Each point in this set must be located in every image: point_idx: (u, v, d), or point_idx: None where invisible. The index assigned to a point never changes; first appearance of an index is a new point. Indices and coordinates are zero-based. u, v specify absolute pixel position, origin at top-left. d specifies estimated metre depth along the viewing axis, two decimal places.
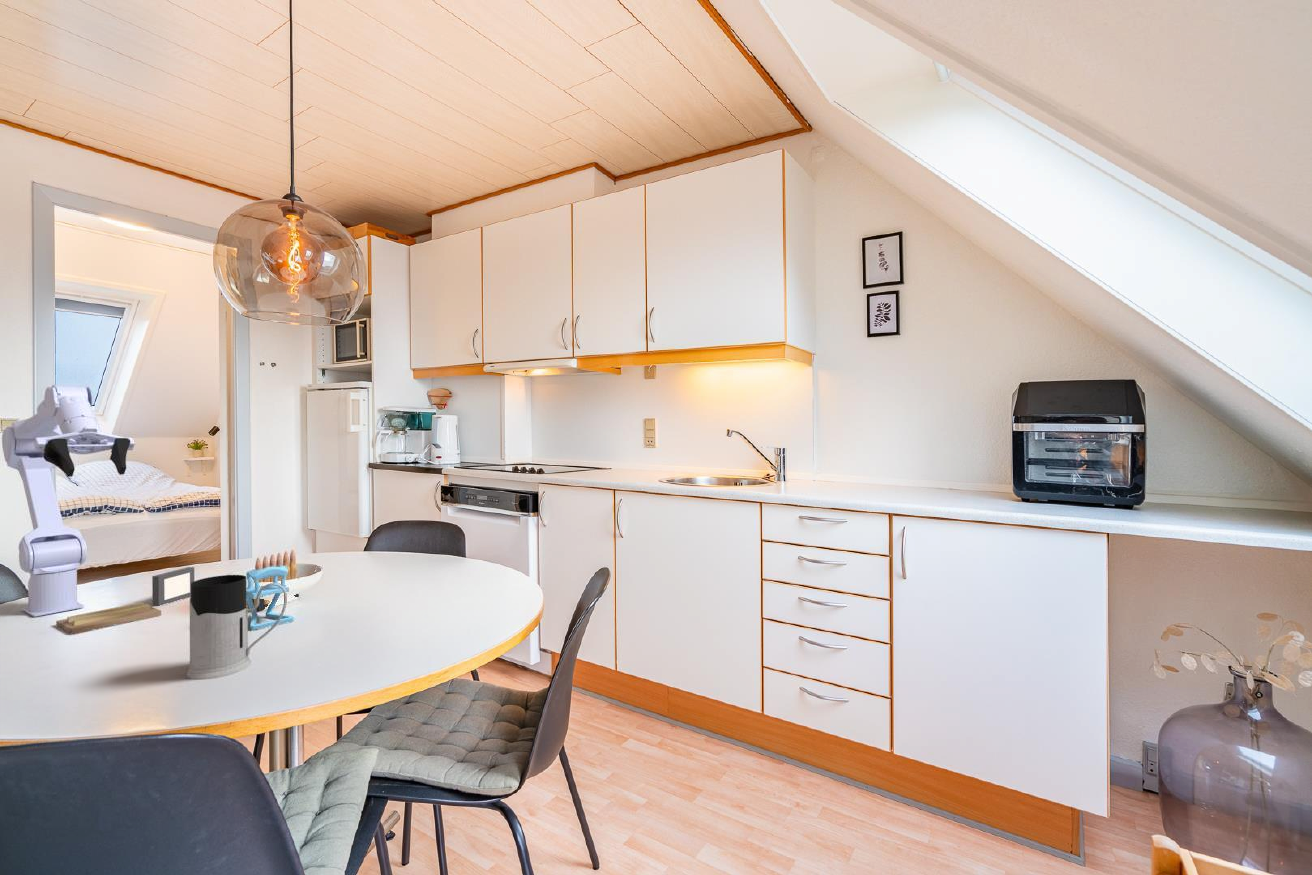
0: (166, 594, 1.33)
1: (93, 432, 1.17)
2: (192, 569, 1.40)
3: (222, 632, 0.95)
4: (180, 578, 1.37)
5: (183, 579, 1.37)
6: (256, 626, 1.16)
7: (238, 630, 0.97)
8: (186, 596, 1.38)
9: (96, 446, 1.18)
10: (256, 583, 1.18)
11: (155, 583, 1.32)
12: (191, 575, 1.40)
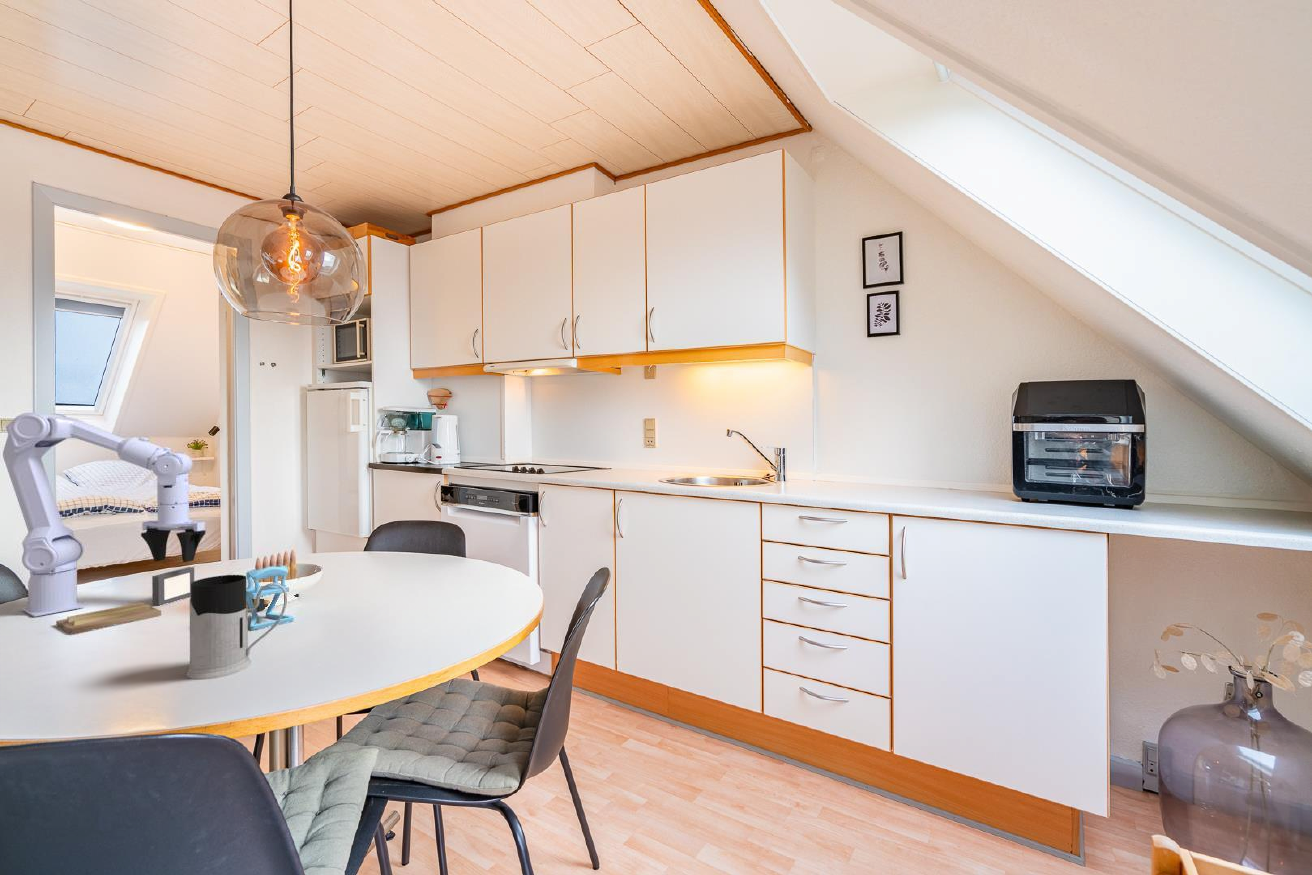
0: (166, 594, 1.33)
1: None
2: (192, 569, 1.40)
3: (222, 632, 0.95)
4: (180, 578, 1.37)
5: (183, 579, 1.37)
6: (256, 626, 1.16)
7: (238, 630, 0.97)
8: (186, 596, 1.38)
9: None
10: (256, 583, 1.18)
11: (155, 583, 1.32)
12: (191, 575, 1.40)
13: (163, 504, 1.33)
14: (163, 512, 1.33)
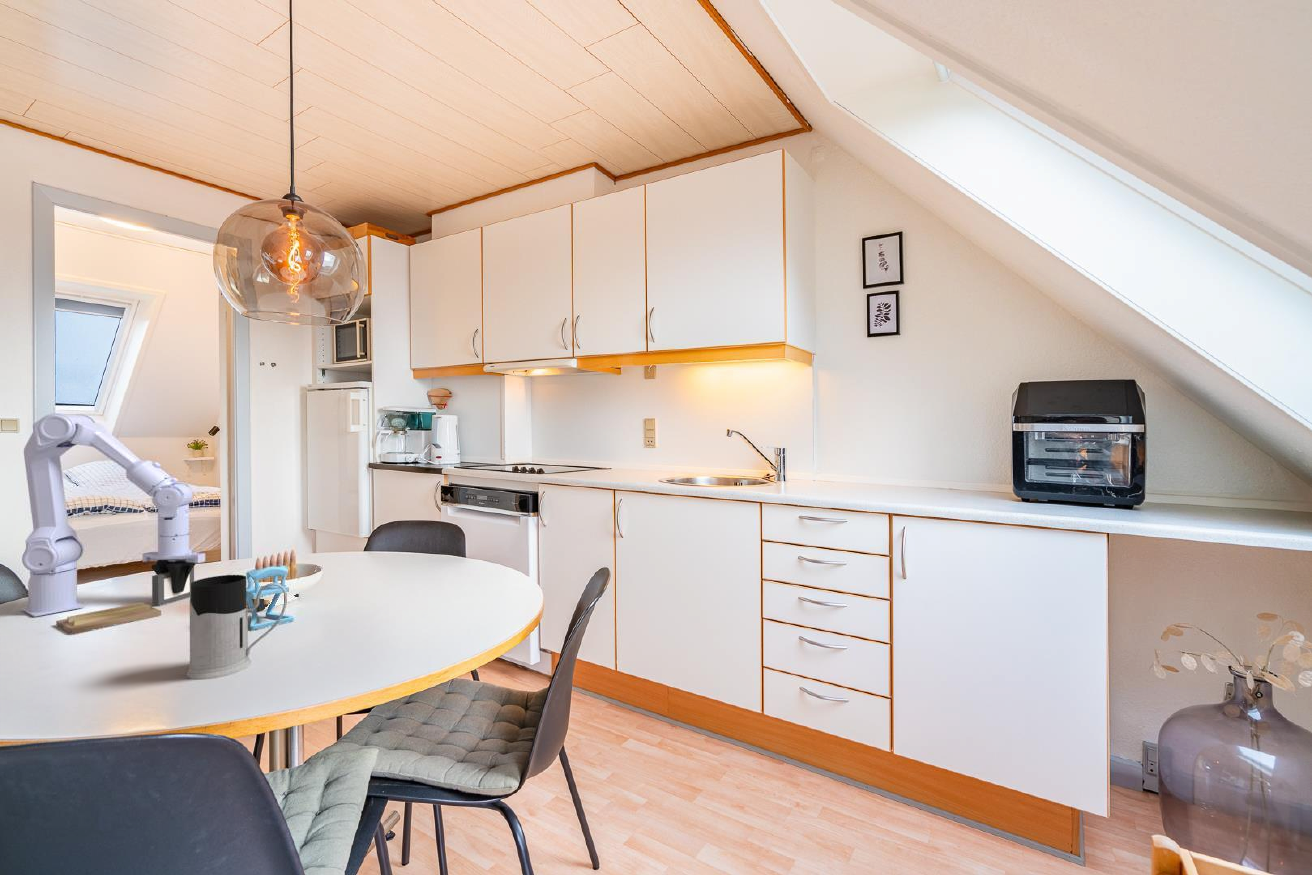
0: (166, 593, 1.33)
1: None
2: (192, 569, 1.40)
3: (222, 632, 0.95)
4: None
5: None
6: (256, 626, 1.16)
7: (238, 630, 0.97)
8: (186, 596, 1.38)
9: None
10: (256, 583, 1.18)
11: (155, 583, 1.32)
12: (191, 575, 1.40)
13: (164, 536, 1.33)
14: (163, 544, 1.33)
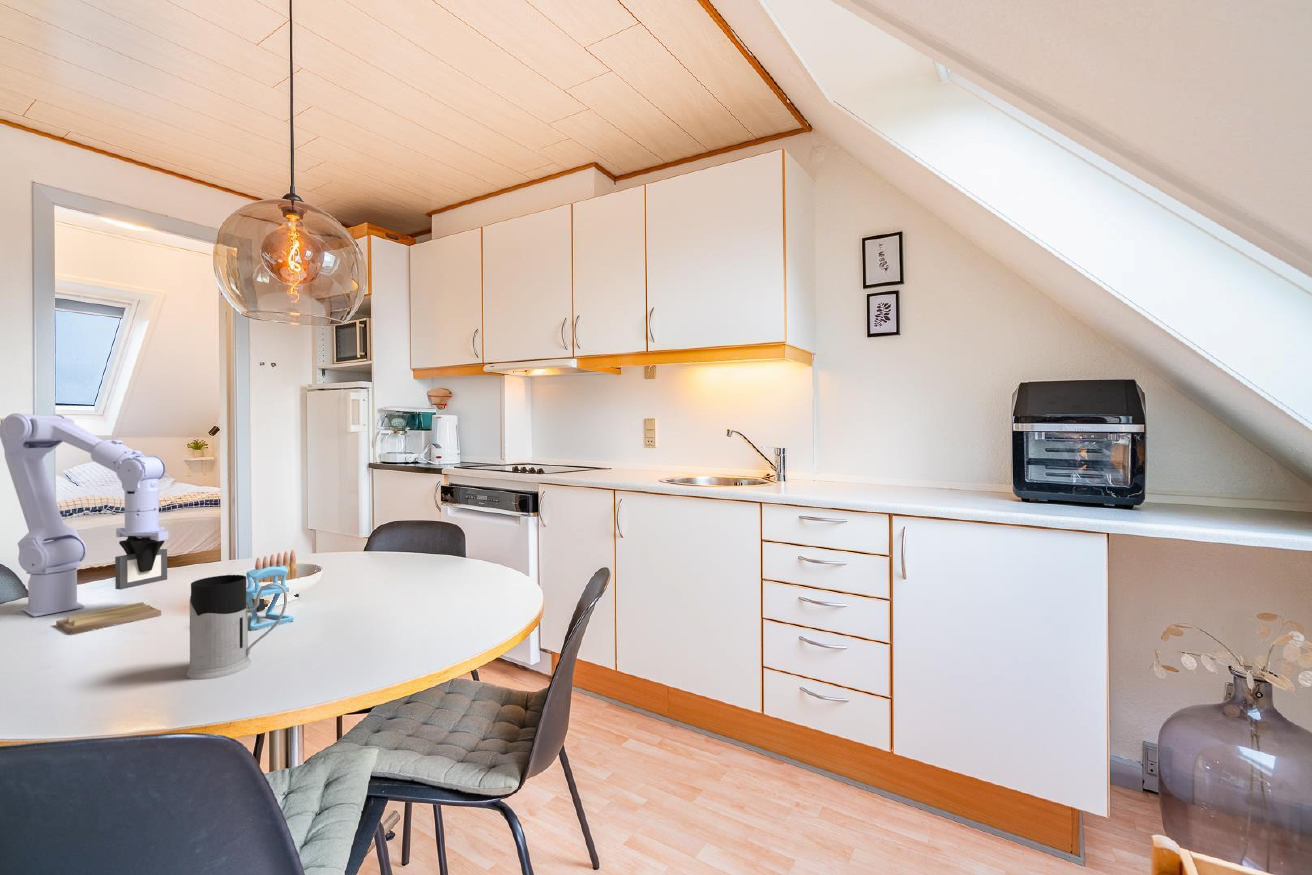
0: (130, 576, 1.26)
1: None
2: (164, 551, 1.32)
3: (222, 632, 0.95)
4: None
5: None
6: (256, 626, 1.16)
7: (238, 630, 0.97)
8: (156, 579, 1.31)
9: None
10: (256, 583, 1.18)
11: (117, 564, 1.24)
12: (163, 557, 1.32)
13: (128, 511, 1.26)
14: (128, 519, 1.26)
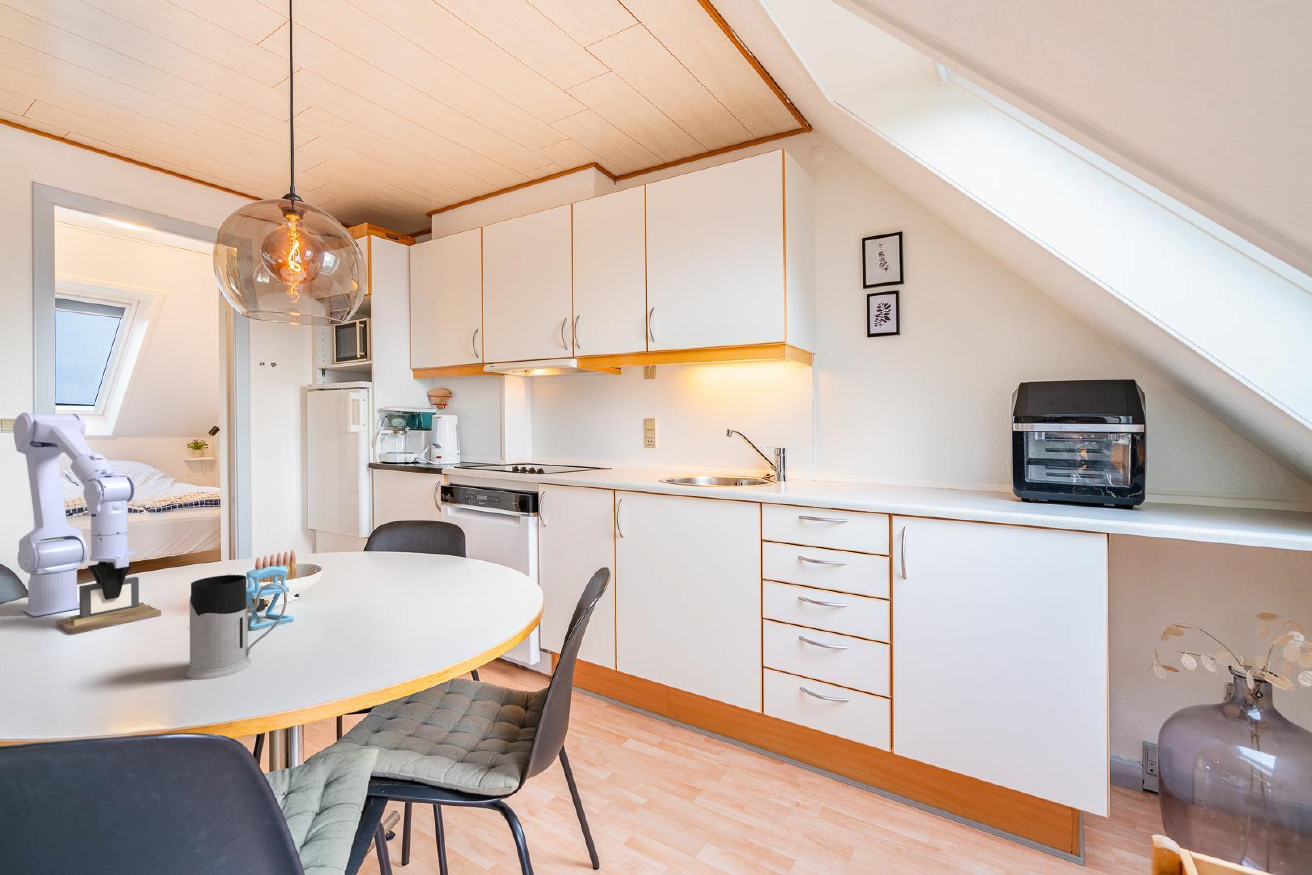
0: (94, 607, 1.19)
1: None
2: (135, 580, 1.25)
3: (222, 632, 0.95)
4: None
5: None
6: (256, 626, 1.16)
7: (238, 630, 0.97)
8: None
9: None
10: (256, 583, 1.18)
11: (80, 594, 1.18)
12: (134, 586, 1.25)
13: (92, 535, 1.19)
14: (92, 543, 1.19)
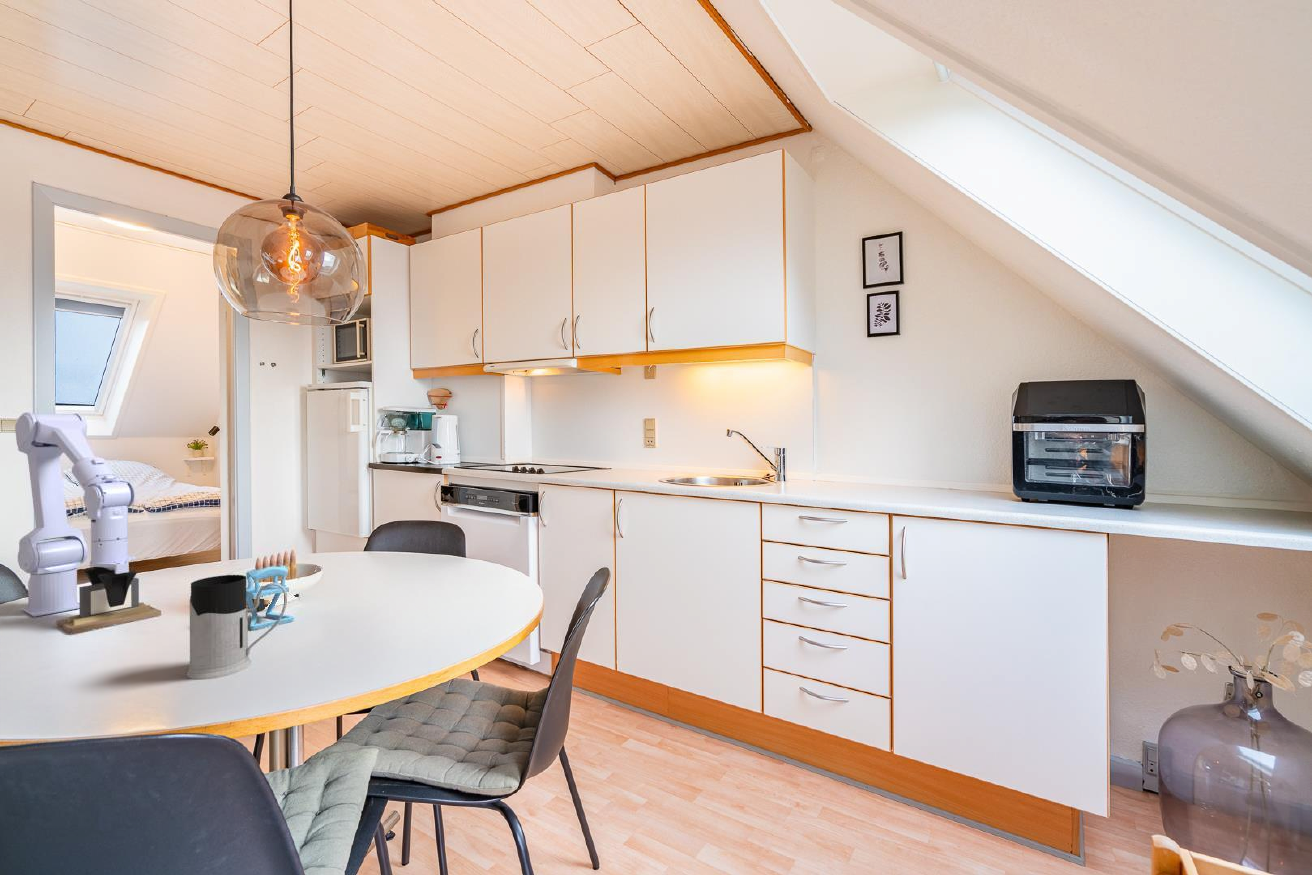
0: (94, 608, 1.19)
1: None
2: (135, 581, 1.25)
3: (222, 632, 0.95)
4: None
5: None
6: (256, 626, 1.16)
7: (238, 630, 0.97)
8: None
9: None
10: (256, 583, 1.18)
11: (80, 595, 1.18)
12: (134, 587, 1.25)
13: (92, 540, 1.19)
14: (92, 549, 1.19)
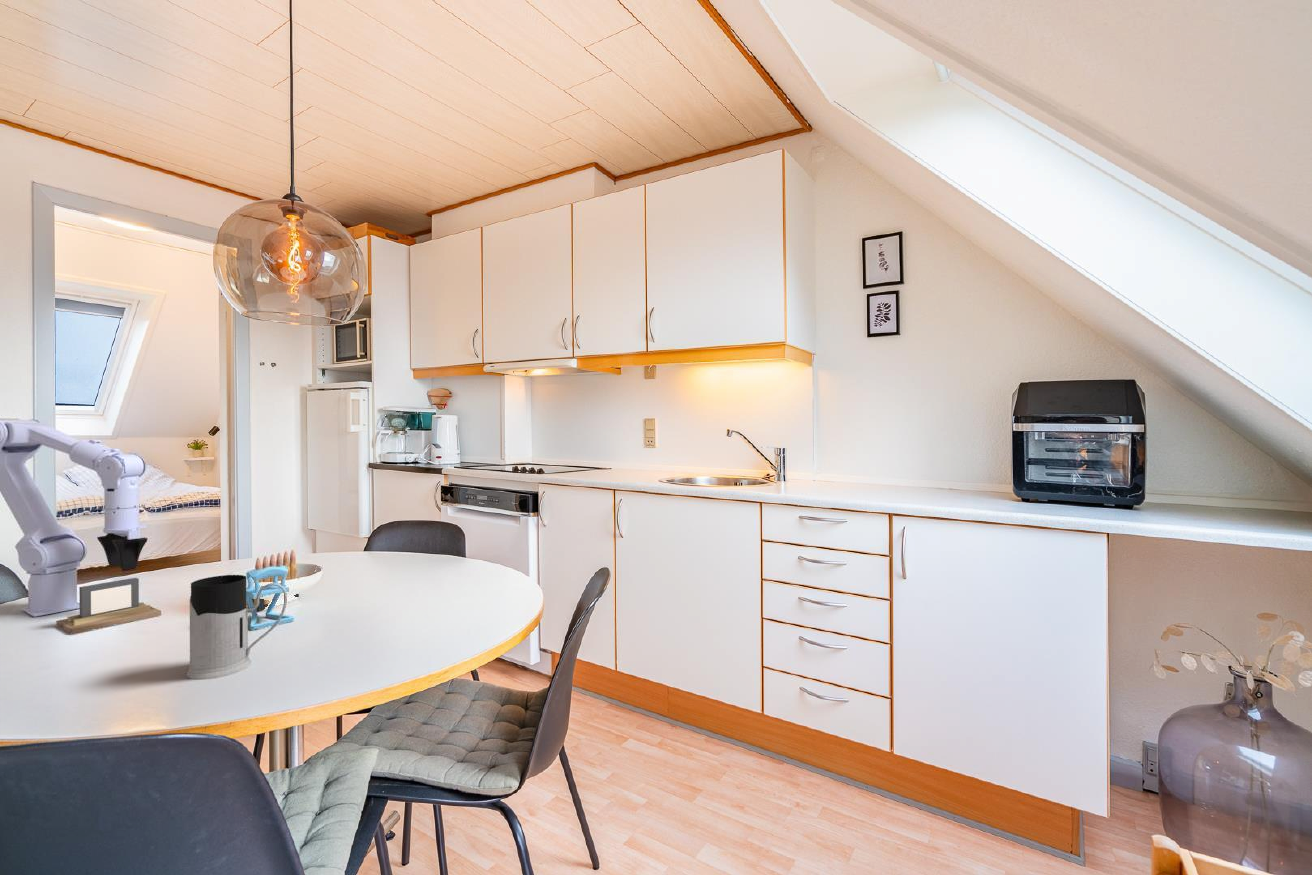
0: (94, 608, 1.19)
1: None
2: (135, 581, 1.25)
3: (222, 632, 0.95)
4: (116, 591, 1.22)
5: (121, 592, 1.23)
6: (256, 626, 1.16)
7: (238, 630, 0.97)
8: None
9: None
10: (256, 583, 1.18)
11: (80, 595, 1.18)
12: (134, 587, 1.25)
13: (105, 508, 1.26)
14: (105, 516, 1.26)
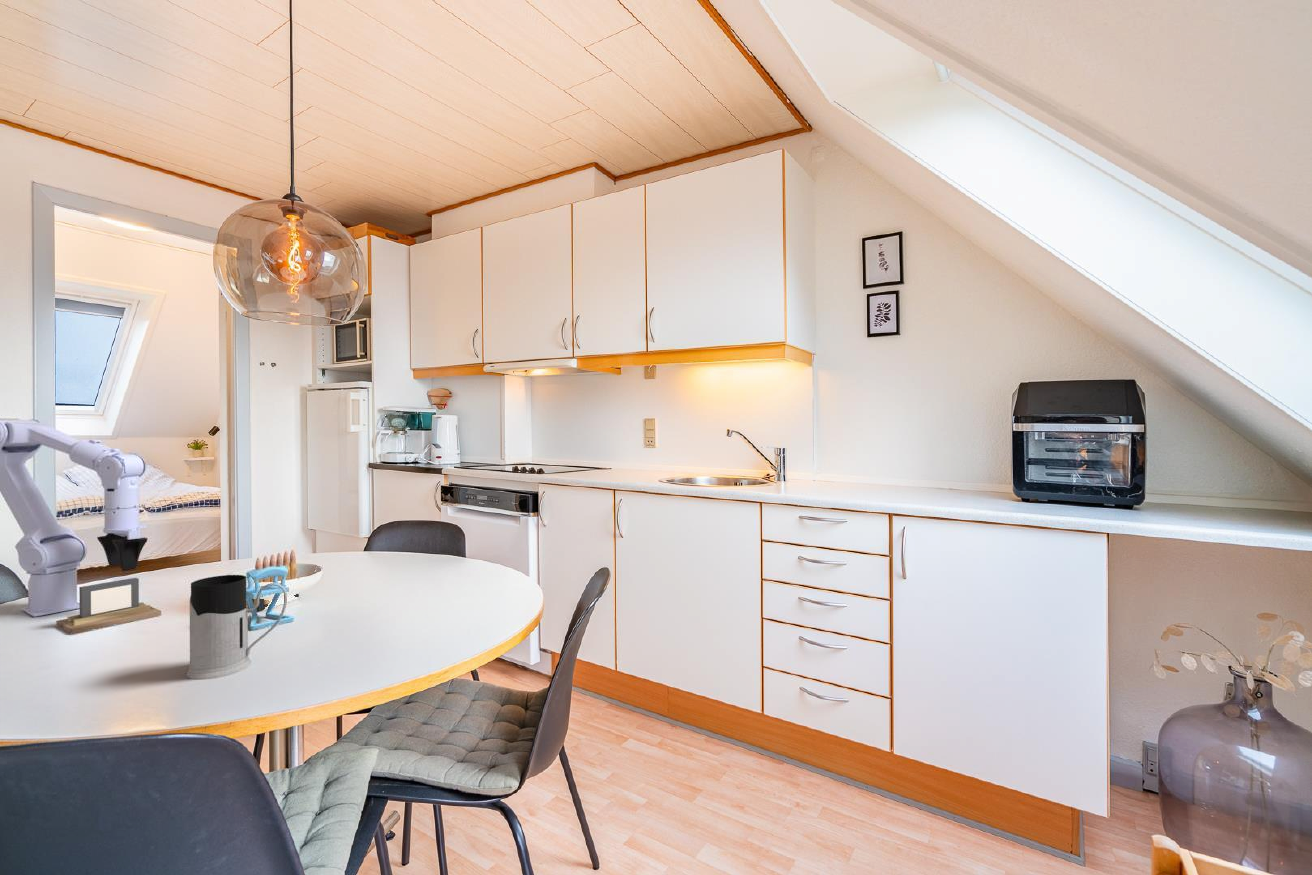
0: (94, 608, 1.19)
1: None
2: (135, 581, 1.25)
3: (222, 632, 0.95)
4: (116, 591, 1.22)
5: (121, 592, 1.23)
6: (256, 626, 1.16)
7: (238, 630, 0.97)
8: None
9: None
10: (256, 583, 1.18)
11: (80, 595, 1.18)
12: (134, 587, 1.25)
13: (105, 508, 1.26)
14: (105, 516, 1.26)
